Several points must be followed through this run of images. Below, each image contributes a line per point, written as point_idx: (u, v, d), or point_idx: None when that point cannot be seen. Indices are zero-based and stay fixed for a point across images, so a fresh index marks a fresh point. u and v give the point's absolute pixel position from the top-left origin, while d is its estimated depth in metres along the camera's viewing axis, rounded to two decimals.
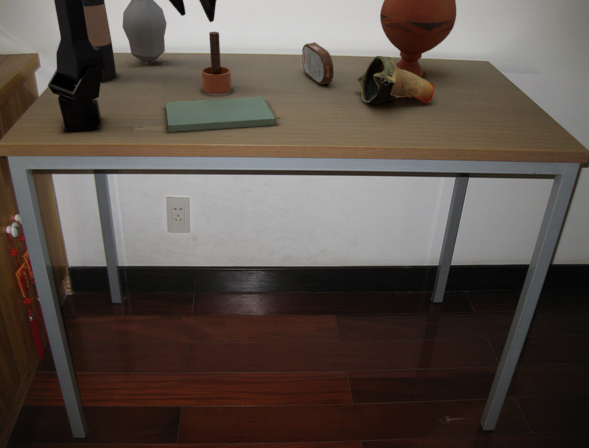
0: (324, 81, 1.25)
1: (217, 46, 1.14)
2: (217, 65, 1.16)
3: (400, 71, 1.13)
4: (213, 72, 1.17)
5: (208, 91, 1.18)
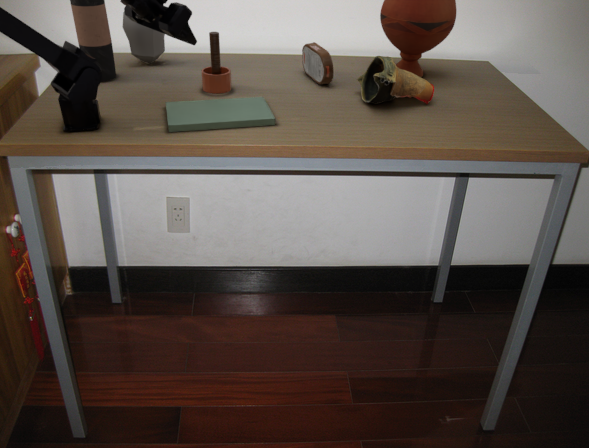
0: (324, 81, 1.25)
1: (217, 46, 1.14)
2: (217, 65, 1.16)
3: (400, 71, 1.13)
4: (213, 72, 1.17)
5: (208, 91, 1.18)
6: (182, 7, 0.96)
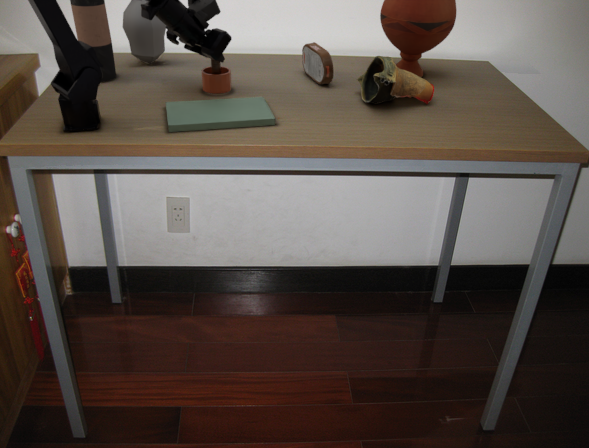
0: (324, 81, 1.25)
1: None
2: (217, 65, 1.16)
3: (400, 71, 1.13)
4: (213, 72, 1.17)
5: (208, 91, 1.18)
6: (223, 33, 1.04)
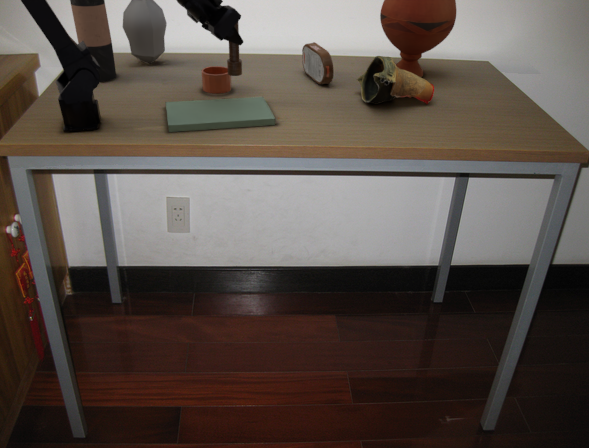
0: (324, 81, 1.25)
1: (235, 27, 1.04)
2: (234, 48, 1.07)
3: (400, 71, 1.13)
4: (230, 55, 1.08)
5: (208, 91, 1.18)
6: (230, 10, 0.94)
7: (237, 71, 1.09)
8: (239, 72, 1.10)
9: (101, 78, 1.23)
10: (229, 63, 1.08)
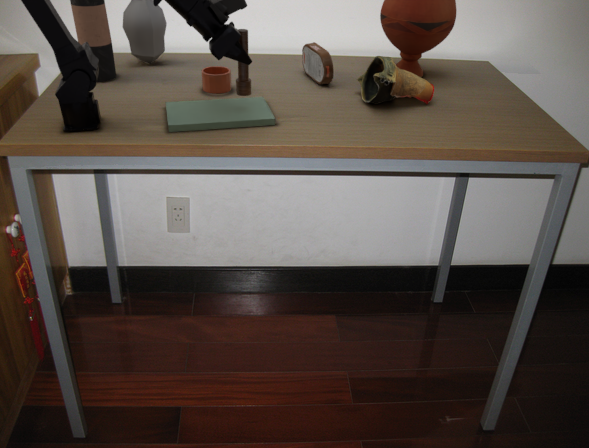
0: (324, 81, 1.25)
1: (243, 46, 1.00)
2: (242, 67, 1.02)
3: (400, 71, 1.13)
4: (238, 74, 1.03)
5: (208, 91, 1.18)
6: (229, 30, 0.90)
7: (245, 91, 1.04)
8: (247, 92, 1.05)
9: (101, 78, 1.23)
10: (237, 82, 1.04)
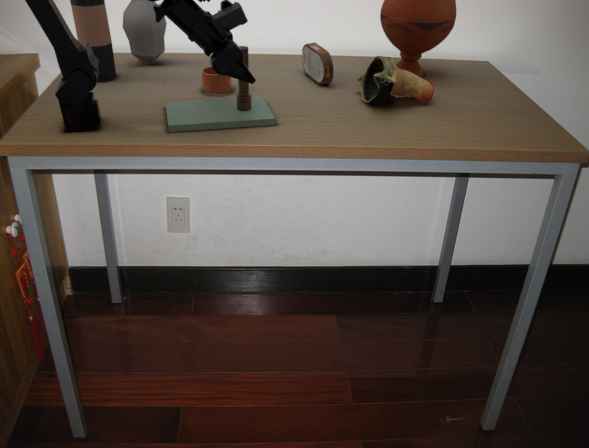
0: (324, 81, 1.25)
1: (243, 62, 1.02)
2: (243, 83, 1.04)
3: (400, 71, 1.13)
4: (239, 90, 1.05)
5: (208, 91, 1.18)
6: (230, 46, 0.91)
7: (245, 106, 1.06)
8: (247, 107, 1.07)
9: (101, 78, 1.23)
10: (237, 98, 1.06)
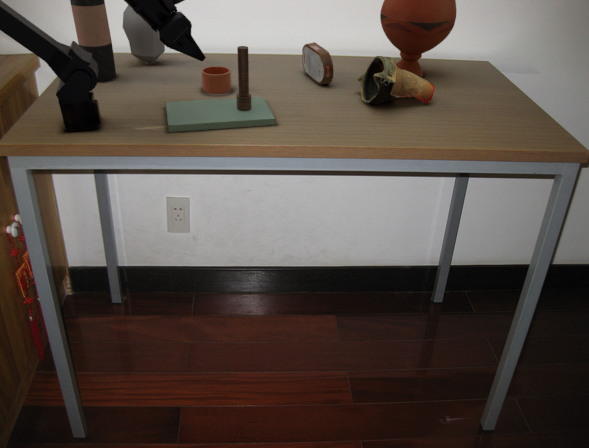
0: (324, 81, 1.25)
1: (243, 62, 1.02)
2: (243, 83, 1.04)
3: (400, 71, 1.13)
4: (239, 90, 1.05)
5: (208, 91, 1.18)
6: (178, 16, 0.87)
7: (245, 106, 1.06)
8: (247, 107, 1.07)
9: (101, 78, 1.23)
10: (237, 98, 1.06)
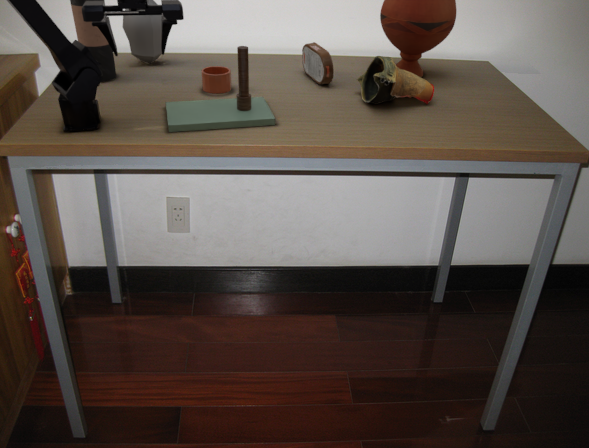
0: (324, 81, 1.25)
1: (243, 62, 1.02)
2: (243, 83, 1.04)
3: (400, 71, 1.13)
4: (239, 90, 1.05)
5: (208, 91, 1.18)
6: None
7: (245, 106, 1.06)
8: (247, 107, 1.07)
9: None
10: (237, 98, 1.06)
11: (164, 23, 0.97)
